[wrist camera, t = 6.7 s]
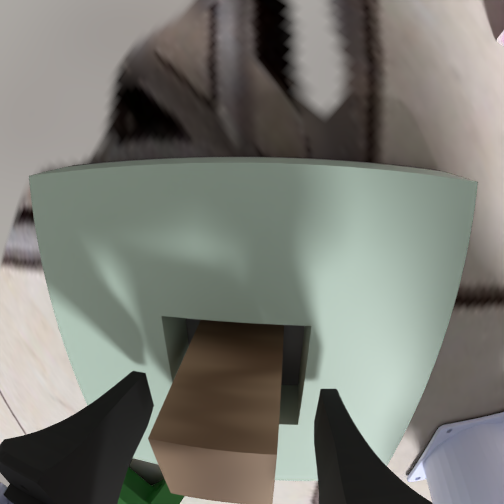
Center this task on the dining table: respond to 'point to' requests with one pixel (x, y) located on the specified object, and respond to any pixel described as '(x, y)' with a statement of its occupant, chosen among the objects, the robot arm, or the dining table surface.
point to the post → (223, 415)
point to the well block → (259, 277)
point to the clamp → (145, 491)
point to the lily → (501, 39)
